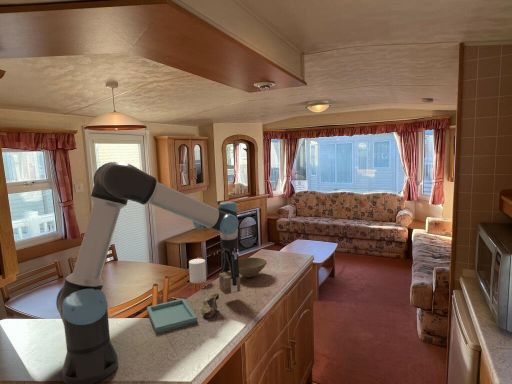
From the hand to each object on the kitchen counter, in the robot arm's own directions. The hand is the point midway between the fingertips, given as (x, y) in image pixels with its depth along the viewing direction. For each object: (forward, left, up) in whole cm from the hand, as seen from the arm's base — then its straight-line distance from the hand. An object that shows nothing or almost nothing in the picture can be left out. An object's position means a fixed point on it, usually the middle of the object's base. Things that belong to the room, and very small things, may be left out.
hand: (230, 289), depth 146 cm
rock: (-7, +12, -5) cm, 15 cm away
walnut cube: (0, 0, 0) cm, 1 cm away
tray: (-2, +27, -5) cm, 27 cm away
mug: (+32, +6, -5) cm, 33 cm away
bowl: (+21, -19, -5) cm, 29 cm away
